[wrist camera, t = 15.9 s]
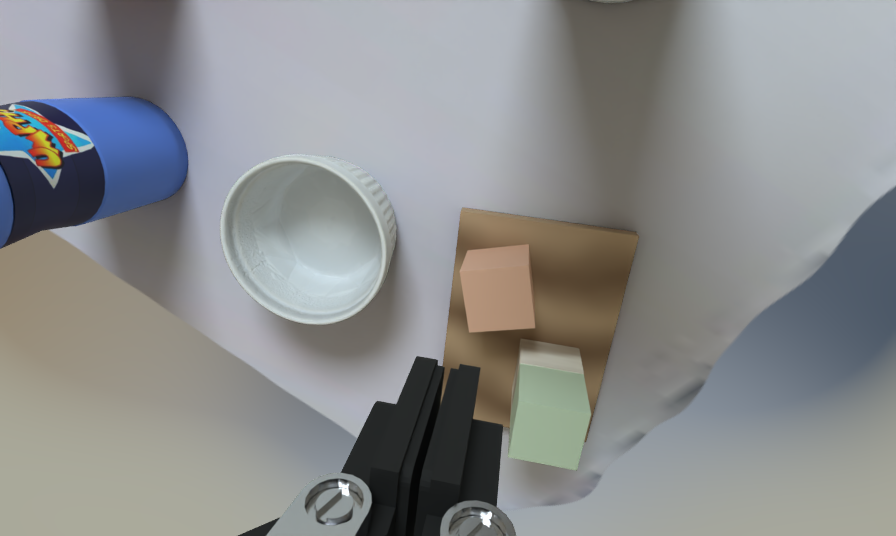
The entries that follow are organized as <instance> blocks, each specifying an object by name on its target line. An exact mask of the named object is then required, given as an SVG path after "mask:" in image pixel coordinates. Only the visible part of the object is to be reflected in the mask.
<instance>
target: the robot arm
mask: <svg viewBox="0 0 896 536" xmlns="http://www.w3.org/2000/svg"><path fill="white" fill-rule="evenodd" d="M589 1H595V2H602V3H621V2H628V1H632V0H589ZM480 369H481V367H475V366H470V365H464V364H460V366H459V369H454V368H451V369H450V373H449V376H448V380H447V384H446V387H445V391H444V394H443V398H442V401H441V396H442V388H443V379H444V371H445V367H443V366H438V360H436V359H430V358H424V357H419V356H417V357H416V359H415V361H414V364H413V366H412V368H411V371H410V373H409V375H408V378H407V380H406V383H405V385H404V387H403V390H402V392H401V395H400V397H399V399H398V402H397V404H391V403H386V402H380V401H377V402H376V403H375V404H374V406H373V408H372V410H371V412H370V414H369V416H368V418H367V420H366V422H365V424H364V426H363V428H362V430H361V432H360V434H359V437H358V439H357V441H356V443H355V445H354V447H353V449H352V451H351V453H350V455H349V457H348V459H347V461H346V463H345V465H344V467H343V469H342V472H341V473H330V474H327V475H323V476H320V477H318V478H316V479H314V480H312V481H311V482H309V483H308V484H307V485H306V486H305V487H304V488H303V489H302V491H301V492H300V493H299V494H298V495H297V497H296V498H295V499H294V501H293V502H292V503H291V504H290V506H289V507H288V508H287V510H286V511H285V512H284V514H283V515H282V516H281V517H280V518H278V519H275V520H273V521H271V522H268V523H266V524H264V525H261V526H259V527H257V528H254V529H252V530H250V531H247V532H245V533H243V534H241V535H238V536H516V533H515V530H514V527H513V524H512V522H511V521H510V520H509V518H508V517H507V515H506V514H505V513H503V512H502V511H501V510H500V509H499V508H497V495H498V482H499V469H500V457H501V444H502V432H503V424H498V423H492V422H487V421H482V420H476V419H473V416H474V409H475V402H476V396H477V389H478V383H479V376H480ZM440 404H441V405H440Z"/></svg>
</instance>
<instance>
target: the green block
mask: <svg viewBox="0 0 896 536" xmlns="http://www.w3.org/2000/svg"><path fill="white" fill-rule="evenodd" d="M590 417H591V410H590V405H589V400H588V394H587V389H586V384H585V378H584V374H578V373H572V372H567V371H561V370H555V369H549V368H544V367H538V366H532V365H526V364H521V363H520V366H519V371H518V377H517V382H516V388H515V393H514V399H513V404H512V409H511V415H510V432H509V449H508V457H509V458H514V459H520V460H525V461H530V462H535V463H540V464H545V465H550V466H555V467H561V468H566V469H571V470H576V471H577V467H578V464H579V460H580V456H581V452H582V448H583V444H584V440H585V436H586V432H587V429H588V425H589V421H590Z"/></svg>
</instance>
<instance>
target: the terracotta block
mask: <svg viewBox="0 0 896 536" xmlns="http://www.w3.org/2000/svg"><path fill="white" fill-rule="evenodd" d="M460 277H461V284H462V290H463V296H464V303H465V309H466V316H467V322H468V328H469V333H471V332H485V331H500V330H515V329H530V328H535V299H534V290H533V280H532V271H531V262H530V252H529V244H526V245H516V246H506V247H496V248H486V249H476V250H468V251H467V253H466V256H465V259H464V261H463V264H462V267H461V269H460Z"/></svg>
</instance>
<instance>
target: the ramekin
mask: <svg viewBox="0 0 896 536" xmlns="http://www.w3.org/2000/svg"><path fill="white" fill-rule="evenodd" d="M396 228H397V227H396V223H395V216H394V211H393V208H392V206H391V203H390V201H389V199H388V198H387V195H386V193H385V192H384V191H383V190H382V187H381V186H380V185H379V184H378V183H377V182H376V180H375V179H374V178H373V177H371V176H370V175H369V174H368V173H367V172H365V171H364V170H362V169H361V168H360V167H358V166H356V165H354V164H353V163H350V162H347V161H345V160H343V159H337V158H335V157H327V156H310V155H300V154H294V155H284V156H279V157H276V158H273V159H270V160H267V161H265V162H262V163H260V164H258V165H256V166H254V167H253V168H251V169H250V170H248V171H247V172H246V173H245V174H243V175H242V176H241V177H240V178H239V179H238V180H237V182H236V183H235V184H234V185H233V187H232V188H231V190H230V191H229V193H228V195H227V197H226V199H225V202H224V205H223V209H222V213H221V218H220V238H221V244H222V249H223V253H224V255H225V259H226V261H227V263H228V266H229V268H230V270H231V272H232V273H233V275H234V277H235V278H236V280H237V281H238V283H239V284H240V285H241V286H242V288H243V289H244V290H245V291H246V292H247V293H248V294H249V295H250V296H251V297H252V298H253V299H254V300H255V301H256V302H258V303H259V304H260V305H261V306H263V307H264V308H266V309H267V310H269V311H271V312H272V313H274V314H276V315H278V316H280V317H282V318H285V319H287V320H291V321H294V322H297V323H302V324H310V325H325V324H333V323H337V322H340V321H343V320H346V319H348V318H350V317H352V316H354V315H355V314H357V313H358V312H360V311H361V310H362V309H364V308H365V307H366V306H367V305H368V304H369V303H370V302H371V300H372V299H373V298H374V297H375V295H376V294H377V293H378V292H379V290H380V288H381V287H382V285H383V283H384V281H385V279H386V276H387V273H388V270H389V265H390V260H391V258H392V255H393V251H394V248H395V241H396Z"/></svg>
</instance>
